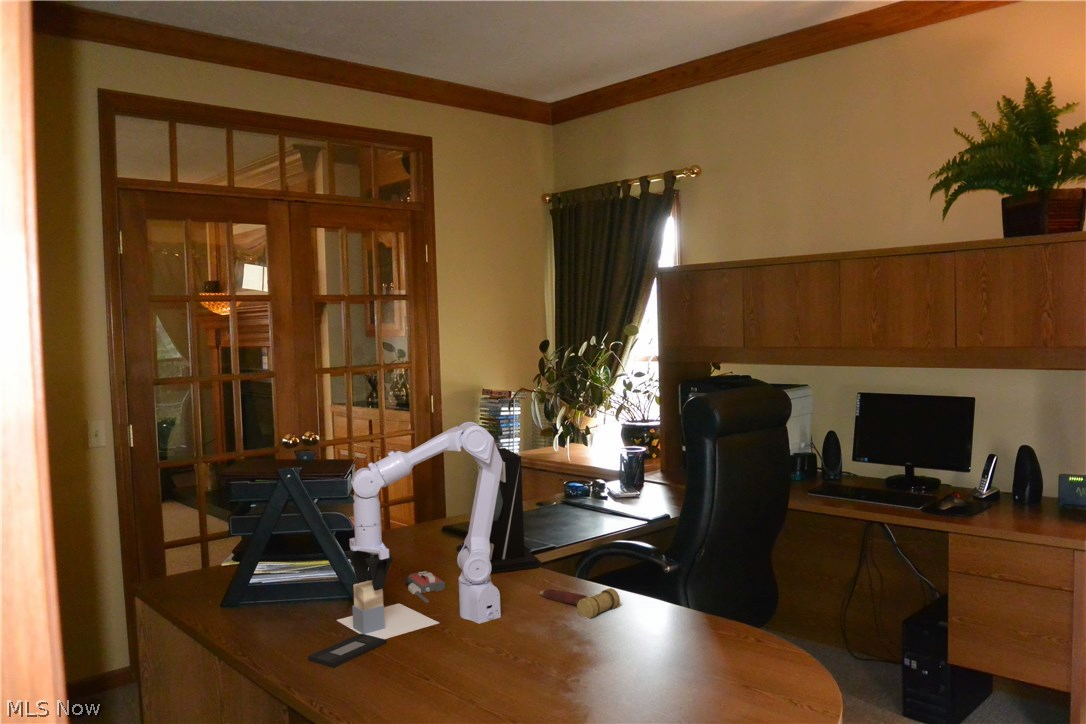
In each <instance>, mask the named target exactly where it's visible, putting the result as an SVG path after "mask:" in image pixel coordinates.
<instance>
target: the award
mask: <svg viewBox="0 0 1086 724" xmlns="http://www.w3.org/2000/svg"><path fill="white" fill-rule="evenodd" d="M497 449H498V451H499V454H500V456H501V459H502V470H501V476H500V481H499V487H498V493H497V499H496V504H495V510H494V516H493V521H492V527H491V533H490V538H489V542H490V557H489V558H490V563H491V573H490V575H491V574H499V573H500V574H501V573H508V572H516V571H517V572H518V571H524V570H525V571H526V570H531V569H537V568H541V567H542V566H543V562H542V561H541V560H539V558H537V556H536V555H534V554H533V553H532V552H531V551H530V550H529V549H527V548H526V547H525V533H524V532H525V530H524V500H523V499H524V498H523V495H524V494H523V476H522V475H523V471H522V469H523V468H522V455H519V454H518V453H515V452H514V451H512V450H509V448H508V449H507V448H506V447H497ZM463 546H464V541H463V542H461V543H460V544H459V545H457V546H456V551H457V552H458V553H459V552H460V551H461V549H462V548H463Z"/></svg>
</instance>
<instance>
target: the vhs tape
mask: <svg viewBox="0 0 1086 724" xmlns="http://www.w3.org/2000/svg"><path fill="white" fill-rule="evenodd" d="M387 642H388V640H387V639H382V638H378V637H374V636H370V635H366V634H359V633H358V634H356V635H354V636H352V637H349V638H346V639H344V640H342V641H340V642H337V643H335V644H333V645H330V646H327V647H326V648H323V649H321V650H318V651H316V652H314V653H312V654H309V655H308V656H307V661H309V662H312V663H316V664H318V665H323V666H326V667H330V668H332V669H335V668H338V667H339V666H342V665H343V664H346V663H348V662H349V661H352V660H354V659H356V658H359V657H360V656H363V655H365V654H368V653H370V652H371V651H374V650H375V649H377V648H380V647H382V646H384V645H387V644H388V643H387Z"/></svg>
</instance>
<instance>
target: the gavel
mask: <svg viewBox="0 0 1086 724" xmlns="http://www.w3.org/2000/svg"><path fill="white" fill-rule="evenodd" d="M539 595H541V596H542V597H544V598H545V599H547V600H550V601H553V602H554V601H555V602H559V603H564V604H569V605H575V606H576V608H577V613H578V614H579V616H580V617H581V616H583V617H582V618H584V617H587V618H590V619H592V618H595V617H596V616H597V615H598V614H601V613H603V612H605V611H608V610H609V609H610V610H613V609H616V608H618V607H619V605H620V602H621V599H620V595H619V593H618V591H617V590H615V589H614V588H612V587H609V588H607V589H604V590H602V591H601V592H600V593H598V594H595V595H593V596H592V595H591V596H587V595H585V594H581V593H575V592H569V591H564V590H563V591H562V590H557V589H552V588H548V589H545V590H540V591H539ZM594 616H595V617H594ZM587 618H586V619H587Z"/></svg>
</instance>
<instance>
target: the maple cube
mask: <svg viewBox="0 0 1086 724" xmlns="http://www.w3.org/2000/svg"><path fill="white" fill-rule="evenodd" d="M353 605H354V606H356V607H358V608H360V609H362V610H364V611H365V610H368V609H372V608H376V607H380V606H384V590H383V589H380V590H376V591H375V590H374V588H373V585H372V579H371V580H367V581H365V582H360V583H358V582H357V583H354V584H353Z"/></svg>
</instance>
